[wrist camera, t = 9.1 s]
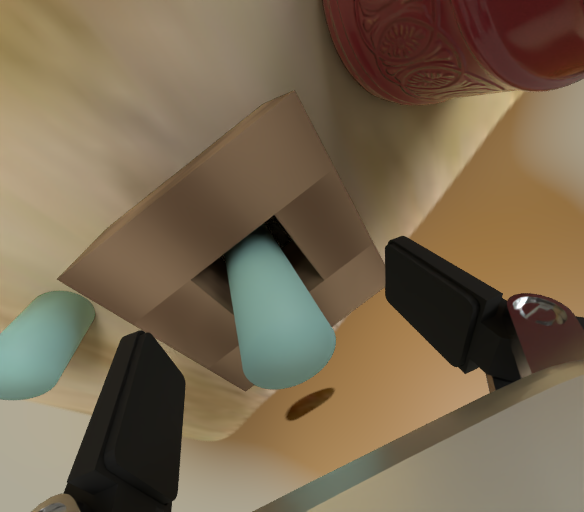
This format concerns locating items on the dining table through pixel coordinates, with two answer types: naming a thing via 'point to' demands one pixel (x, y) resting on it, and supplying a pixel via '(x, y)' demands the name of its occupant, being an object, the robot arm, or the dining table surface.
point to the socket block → (232, 238)
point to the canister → (457, 46)
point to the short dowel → (42, 343)
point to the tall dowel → (275, 315)
